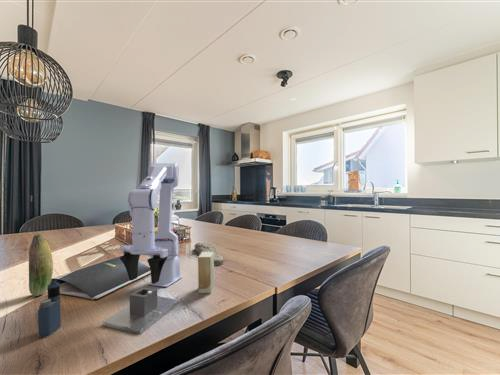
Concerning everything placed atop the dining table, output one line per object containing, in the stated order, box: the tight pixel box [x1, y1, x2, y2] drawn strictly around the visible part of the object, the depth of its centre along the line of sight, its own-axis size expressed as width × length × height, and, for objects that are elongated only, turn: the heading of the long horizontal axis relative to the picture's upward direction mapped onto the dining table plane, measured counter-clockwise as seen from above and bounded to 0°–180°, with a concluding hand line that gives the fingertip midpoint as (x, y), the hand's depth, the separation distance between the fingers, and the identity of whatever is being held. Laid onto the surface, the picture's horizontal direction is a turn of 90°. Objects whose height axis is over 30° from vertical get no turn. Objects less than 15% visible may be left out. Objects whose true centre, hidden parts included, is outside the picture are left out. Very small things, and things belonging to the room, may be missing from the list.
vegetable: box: [28, 234, 54, 297], centre depth 80 cm, size 6×6×20 cm
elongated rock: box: [194, 242, 225, 266], centre depth 123 cm, size 35×5×10 cm
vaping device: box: [37, 279, 62, 338], centre depth 59 cm, size 3×5×12 cm, turn 2°
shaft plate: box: [102, 295, 181, 335], centre depth 68 cm, size 16×12×4 cm
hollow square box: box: [129, 286, 158, 316], centre depth 67 cm, size 5×5×5 cm
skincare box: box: [197, 252, 215, 294], centre depth 83 cm, size 6×4×12 cm
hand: (144, 280), depth 68 cm, fingers open, 7 cm apart
